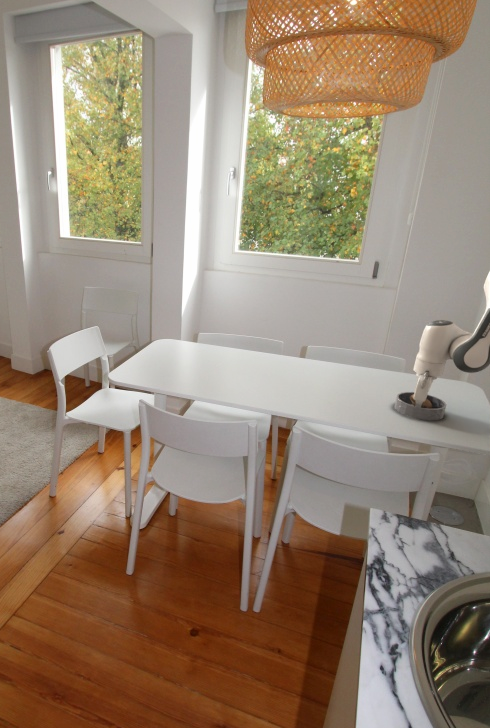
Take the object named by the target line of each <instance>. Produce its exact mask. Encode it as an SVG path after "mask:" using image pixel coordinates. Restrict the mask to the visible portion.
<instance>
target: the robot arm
mask: <svg viewBox="0 0 490 728" xmlns="http://www.w3.org/2000/svg"><path fill="white" fill-rule="evenodd" d="M483 291H484V295H485V301H486V303H485V304H486V306H485V310H484V313H483V315H482V317H481V319H480V320H479V322H478V325H476V328H475V330H474V332H470V331H467V330H464V329H462V328H460V327H459V326H458V325H456V324H455V323H454V322H453V321H450V320H445V319H439V320H433V321H430V322H428V323H427V324H426V325H425V327H424V329H423V331H422V334H421V337H420V340H419V345H418V346H419V350H418V352H417V354H416V356H415V362H414V365H413V372H415V373H416V374H415V375H416V377H418V379H417V383H416V387H415V389H414V392H415V393H414V400H416V403H415V406H416V407H421V405H422V403H423V402H425V400H426V398H427V395H429V392H430V390H431V387H432V385H433V383H434V381H435V380H437V379H438V377H441V376H443V375H444V370H445V367H446V364H447V361H448V360H452V361H453V363H454V365H455V367H456V369H458V370H459V371H461V372H462V373H463V372H464V373H466V374H467V373H469V374H475V373H480V372H482V371H483V370H485V369H486V368H488V367H489V366H490V271H489V272H488V274H487V276H486V278H485V281H484V283H483Z"/></svg>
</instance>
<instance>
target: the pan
mask: <svg viewBox="0 0 490 728" xmlns="http://www.w3.org/2000/svg"><path fill="white" fill-rule="evenodd" d="M414 393H415V391H404V392H400V393H398V394H397V395H396V398H395V402H394V410H396V412H398V413H400V414H402V415H403V416H407V417H410V418H413V419H417V420H421V421H422V420H423V421H439V420H442V419H443V418H444V415H445V412H446V408H447V403H446V401H444V400H443V399H441V398H439V397H437V396H434V395H431V394H428V395H427V398H426V399H428V400H429V401H430V402H431V404H432V409H428V408H421V407H416V406H413V405H411V404H412V401H411V400H410V396H411V395H413V394H414Z"/></svg>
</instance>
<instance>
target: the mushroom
mask: <svg viewBox="0 0 490 728" xmlns="http://www.w3.org/2000/svg"><path fill="white" fill-rule="evenodd" d="M410 400H411V401H412V404H411V405H413V406H415V403H416V400H414V394H413V395H411V396H410ZM421 408H428V409H432V404H431V402H430V401H429V400H428V399H426V400H425V402H423V403H422V405H421Z"/></svg>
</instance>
